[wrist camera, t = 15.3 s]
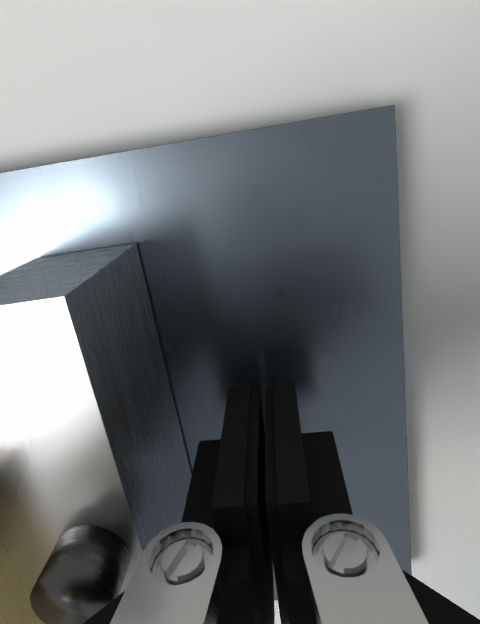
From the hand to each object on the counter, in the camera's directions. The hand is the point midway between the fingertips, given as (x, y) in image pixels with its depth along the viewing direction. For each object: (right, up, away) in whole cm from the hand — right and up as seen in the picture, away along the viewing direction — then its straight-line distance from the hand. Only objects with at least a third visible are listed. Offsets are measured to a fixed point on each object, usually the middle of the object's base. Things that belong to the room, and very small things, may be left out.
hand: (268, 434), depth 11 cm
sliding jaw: (-4, 0, +1) cm, 4 cm away
